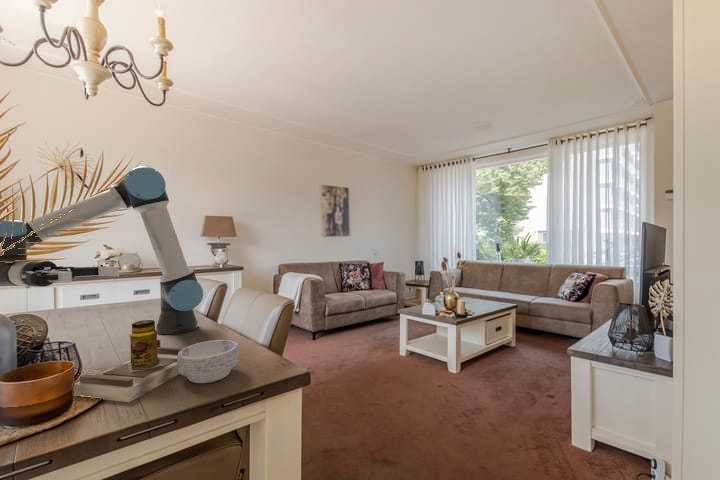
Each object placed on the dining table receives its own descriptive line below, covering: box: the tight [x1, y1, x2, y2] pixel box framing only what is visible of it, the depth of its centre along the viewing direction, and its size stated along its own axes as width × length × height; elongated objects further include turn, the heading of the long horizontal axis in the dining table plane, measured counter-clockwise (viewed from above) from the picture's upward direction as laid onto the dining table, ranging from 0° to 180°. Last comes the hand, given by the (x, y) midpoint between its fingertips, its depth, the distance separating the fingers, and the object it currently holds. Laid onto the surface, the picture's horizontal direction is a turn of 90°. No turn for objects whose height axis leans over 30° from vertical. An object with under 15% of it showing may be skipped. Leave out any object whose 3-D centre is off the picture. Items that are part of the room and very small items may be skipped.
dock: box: [73, 346, 183, 403], centre depth 91 cm, size 24×16×4 cm, turn 169°
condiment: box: [127, 319, 163, 373], centre depth 91 cm, size 7×8×12 cm
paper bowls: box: [177, 339, 240, 384], centre depth 91 cm, size 15×15×8 cm
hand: (95, 274), depth 93 cm, fingers open, 13 cm apart
